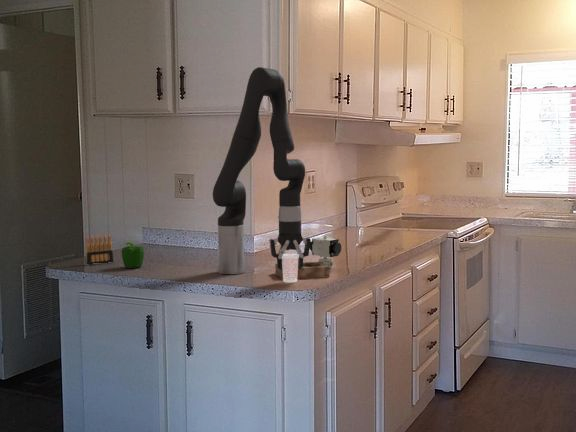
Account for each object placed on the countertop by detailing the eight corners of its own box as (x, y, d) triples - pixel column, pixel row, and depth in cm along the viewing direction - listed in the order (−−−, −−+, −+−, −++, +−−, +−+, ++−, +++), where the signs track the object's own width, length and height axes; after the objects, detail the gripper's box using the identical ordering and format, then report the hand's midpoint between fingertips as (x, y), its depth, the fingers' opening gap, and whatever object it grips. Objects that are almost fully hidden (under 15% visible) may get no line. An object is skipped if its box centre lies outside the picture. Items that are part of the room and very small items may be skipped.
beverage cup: (281, 283, 232) (280, 241, 231) (281, 279, 238) (280, 238, 237) (299, 283, 232) (299, 241, 231) (299, 279, 238) (299, 238, 237)
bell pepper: (142, 265, 272) (141, 239, 271) (146, 268, 264) (145, 242, 263) (120, 266, 269) (119, 240, 268) (123, 270, 261) (122, 243, 260)
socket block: (281, 279, 240) (281, 269, 240) (275, 273, 251) (275, 263, 251) (329, 276, 244) (329, 266, 243) (321, 271, 254) (321, 261, 254)
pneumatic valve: (316, 265, 267) (316, 234, 266) (341, 268, 260) (341, 236, 259) (307, 267, 263) (307, 235, 262) (333, 270, 256) (333, 238, 254)
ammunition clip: (87, 265, 272) (85, 235, 270) (85, 265, 273) (84, 234, 272) (113, 262, 278) (112, 232, 277) (111, 262, 279) (110, 232, 278)
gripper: (270, 221, 228) (271, 272, 230) (313, 220, 231) (313, 270, 233) (266, 218, 235) (267, 268, 237) (308, 217, 238) (308, 266, 240)
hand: (290, 269), depth 235 cm, fingers closed on beverage cup, 6 cm apart
